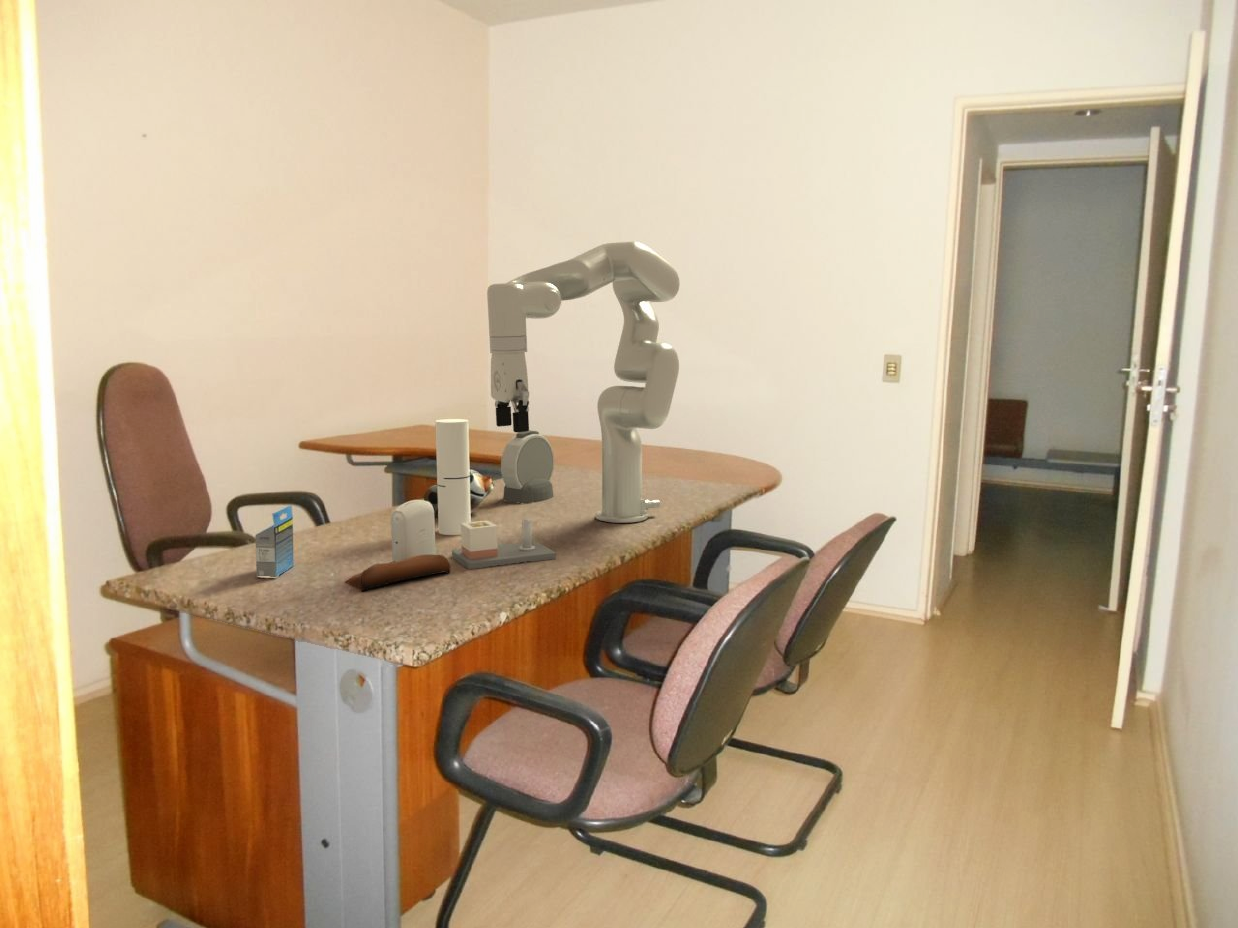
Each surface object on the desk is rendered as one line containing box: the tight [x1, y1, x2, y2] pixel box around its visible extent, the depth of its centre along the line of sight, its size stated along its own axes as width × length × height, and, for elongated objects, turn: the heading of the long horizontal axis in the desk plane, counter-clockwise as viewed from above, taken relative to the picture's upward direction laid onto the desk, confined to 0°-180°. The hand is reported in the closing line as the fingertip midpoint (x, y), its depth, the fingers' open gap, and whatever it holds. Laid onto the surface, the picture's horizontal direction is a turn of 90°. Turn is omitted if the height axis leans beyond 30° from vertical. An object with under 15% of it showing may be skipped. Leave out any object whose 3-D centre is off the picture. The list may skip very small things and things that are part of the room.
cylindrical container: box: [435, 418, 472, 536], centre depth 205 cm, size 7×7×25 cm
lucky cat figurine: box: [422, 469, 495, 515], centre depth 225 cm, size 15×12×14 cm
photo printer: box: [390, 499, 436, 562], centre depth 180 cm, size 10×4×12 cm, turn 157°
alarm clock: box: [500, 429, 555, 504], centre depth 244 cm, size 16×10×18 cm, turn 144°
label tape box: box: [254, 504, 295, 577], centre depth 173 cm, size 9×4×12 cm, turn 178°
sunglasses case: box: [344, 554, 451, 593], centre depth 169 cm, size 18×7×7 cm, turn 133°
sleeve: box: [460, 520, 499, 559], centre depth 182 cm, size 6×6×6 cm
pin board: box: [451, 517, 557, 570], centre depth 184 cm, size 18×11×8 cm, turn 117°
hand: (512, 428), depth 191 cm, fingers open, 9 cm apart
